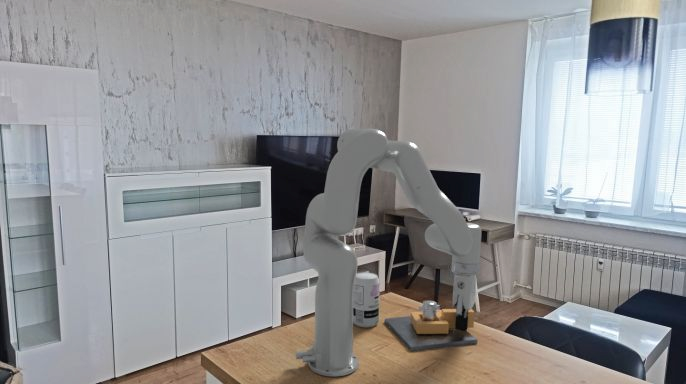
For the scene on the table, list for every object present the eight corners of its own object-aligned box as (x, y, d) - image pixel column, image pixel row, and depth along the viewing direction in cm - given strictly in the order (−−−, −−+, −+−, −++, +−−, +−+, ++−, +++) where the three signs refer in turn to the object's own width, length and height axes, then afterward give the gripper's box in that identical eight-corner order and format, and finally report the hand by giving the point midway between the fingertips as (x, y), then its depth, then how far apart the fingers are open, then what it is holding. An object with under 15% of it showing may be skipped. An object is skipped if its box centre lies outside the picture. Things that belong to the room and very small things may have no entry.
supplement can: (353, 317, 147) (354, 271, 145) (379, 318, 146) (380, 272, 144) (350, 327, 139) (351, 278, 137) (377, 329, 138) (379, 280, 136)
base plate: (411, 351, 124) (412, 319, 123) (384, 322, 143) (385, 294, 142) (482, 342, 130) (484, 311, 129) (448, 316, 149) (449, 288, 148)
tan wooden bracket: (477, 333, 132) (478, 316, 132) (417, 333, 131) (417, 316, 131) (467, 320, 141) (467, 304, 141) (410, 321, 140) (411, 305, 140)
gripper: (474, 275, 122) (469, 342, 124) (483, 263, 136) (478, 323, 138) (445, 271, 126) (442, 336, 128) (457, 259, 139) (453, 318, 141)
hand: (461, 329), depth 133 cm, fingers closed
